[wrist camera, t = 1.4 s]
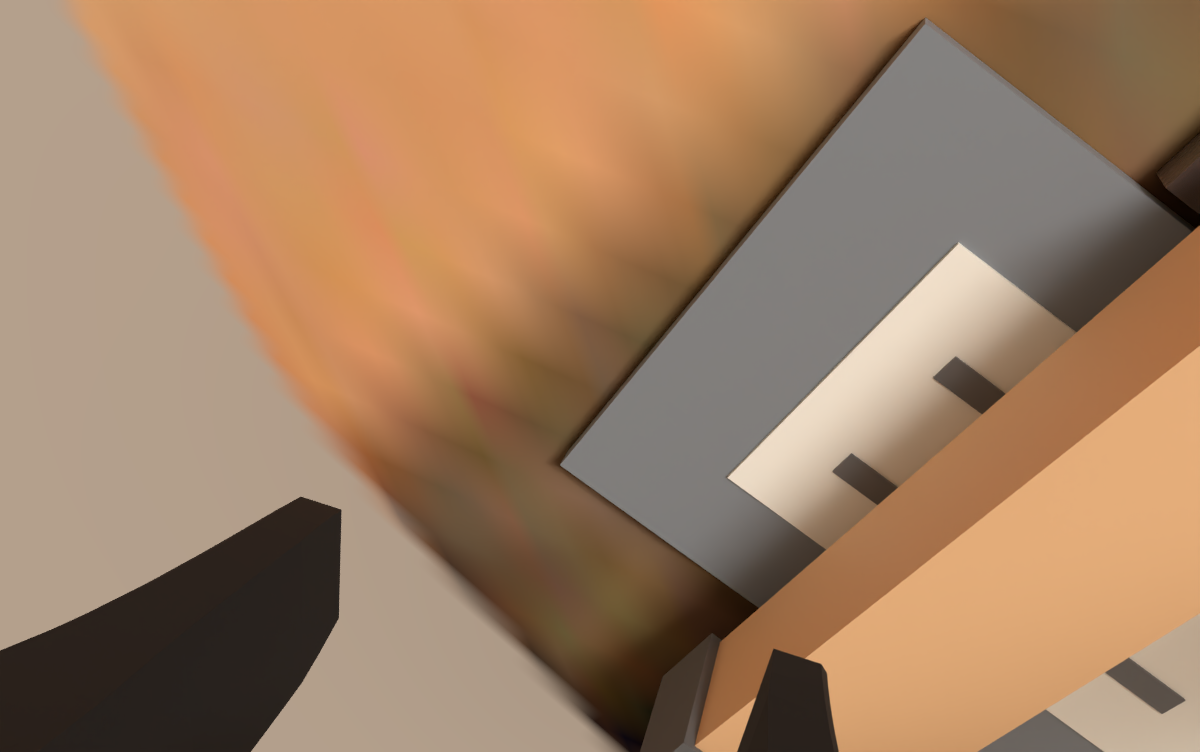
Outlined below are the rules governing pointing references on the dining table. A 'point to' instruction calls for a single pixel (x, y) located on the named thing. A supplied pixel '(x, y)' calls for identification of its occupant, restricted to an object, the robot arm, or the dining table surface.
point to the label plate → (891, 350)
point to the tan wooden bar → (995, 553)
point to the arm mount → (1184, 174)
